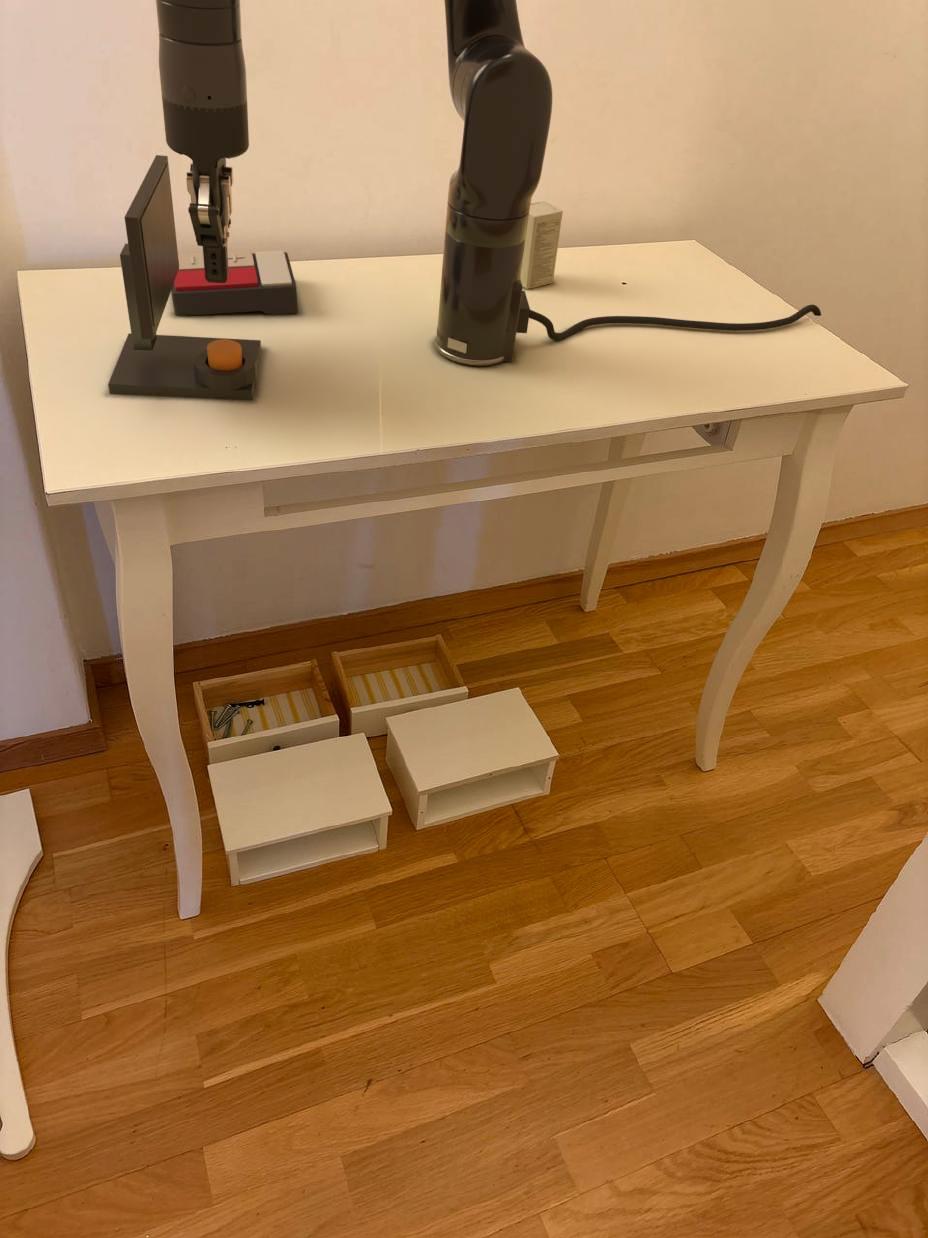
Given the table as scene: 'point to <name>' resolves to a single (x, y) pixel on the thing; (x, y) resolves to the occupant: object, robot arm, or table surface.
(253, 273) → the calculator
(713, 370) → the table surface
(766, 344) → the table surface
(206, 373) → the monitor base
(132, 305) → the monitor stand
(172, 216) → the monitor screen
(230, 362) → the power button
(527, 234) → the cream printed box
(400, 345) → the table surface
